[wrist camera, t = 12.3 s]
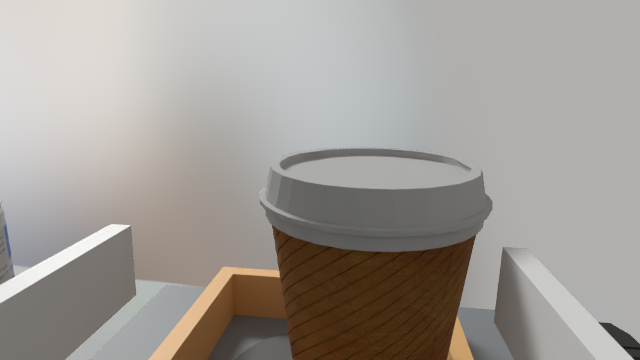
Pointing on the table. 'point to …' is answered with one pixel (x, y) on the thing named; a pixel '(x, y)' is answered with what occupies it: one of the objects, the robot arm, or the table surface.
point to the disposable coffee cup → (373, 249)
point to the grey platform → (252, 324)
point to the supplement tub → (5, 251)
